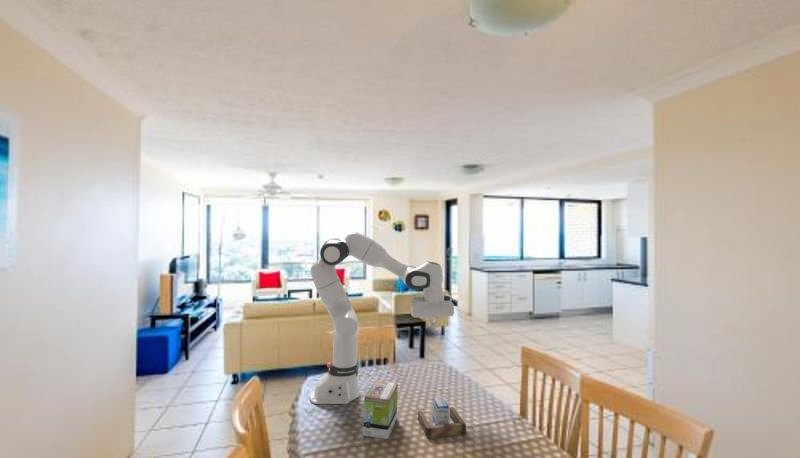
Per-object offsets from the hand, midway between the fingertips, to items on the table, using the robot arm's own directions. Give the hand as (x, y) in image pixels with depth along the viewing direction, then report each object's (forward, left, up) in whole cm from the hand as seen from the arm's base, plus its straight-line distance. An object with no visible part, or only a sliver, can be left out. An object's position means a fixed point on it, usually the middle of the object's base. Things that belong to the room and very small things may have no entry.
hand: (432, 326), depth 171 cm
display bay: (-5, -28, -31) cm, 42 cm away
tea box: (-28, -25, -31) cm, 49 cm away
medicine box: (-5, -27, -31) cm, 41 cm away
